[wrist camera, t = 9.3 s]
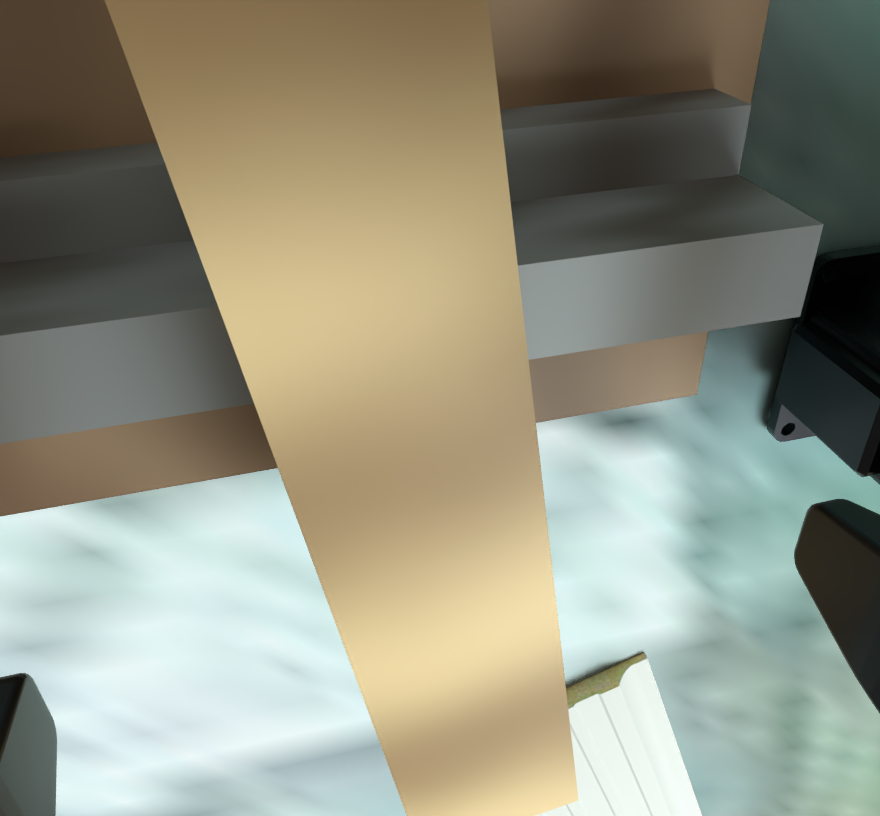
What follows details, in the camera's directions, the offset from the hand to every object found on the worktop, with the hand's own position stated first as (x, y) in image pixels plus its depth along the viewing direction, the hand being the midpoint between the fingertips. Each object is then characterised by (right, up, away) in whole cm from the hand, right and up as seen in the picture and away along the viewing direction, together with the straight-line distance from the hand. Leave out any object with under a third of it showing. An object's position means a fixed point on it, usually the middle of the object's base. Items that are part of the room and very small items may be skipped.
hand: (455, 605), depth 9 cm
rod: (-1, +4, +5) cm, 6 cm away
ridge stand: (-3, +7, +10) cm, 12 cm away
